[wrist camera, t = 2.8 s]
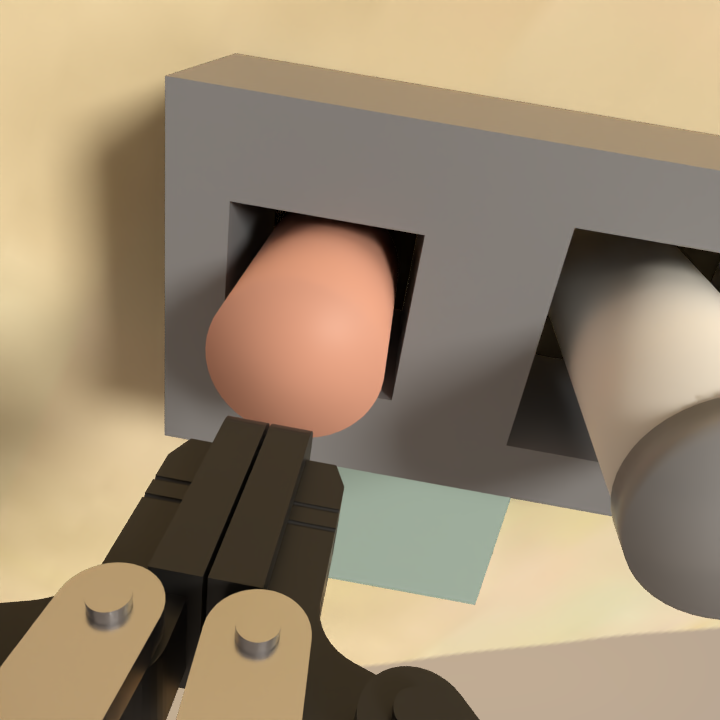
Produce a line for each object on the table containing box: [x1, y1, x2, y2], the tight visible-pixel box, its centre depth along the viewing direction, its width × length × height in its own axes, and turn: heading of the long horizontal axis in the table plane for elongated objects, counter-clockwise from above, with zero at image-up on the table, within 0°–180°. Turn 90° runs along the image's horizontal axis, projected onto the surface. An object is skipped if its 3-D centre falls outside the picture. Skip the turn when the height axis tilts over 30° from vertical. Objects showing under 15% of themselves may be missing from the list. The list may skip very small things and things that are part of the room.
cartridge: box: [548, 228, 720, 620], centre depth 17 cm, size 5×5×12 cm
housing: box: [165, 53, 720, 516], centre depth 20 cm, size 18×10×6 cm, turn 82°
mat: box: [328, 467, 511, 605], centre depth 28 cm, size 10×9×1 cm
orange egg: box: [205, 212, 399, 438], centre depth 17 cm, size 4×4×6 cm
